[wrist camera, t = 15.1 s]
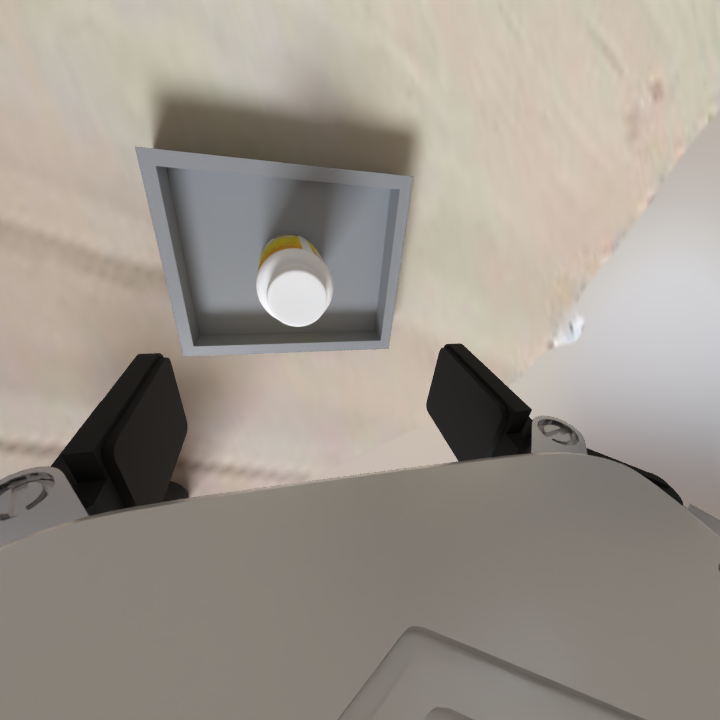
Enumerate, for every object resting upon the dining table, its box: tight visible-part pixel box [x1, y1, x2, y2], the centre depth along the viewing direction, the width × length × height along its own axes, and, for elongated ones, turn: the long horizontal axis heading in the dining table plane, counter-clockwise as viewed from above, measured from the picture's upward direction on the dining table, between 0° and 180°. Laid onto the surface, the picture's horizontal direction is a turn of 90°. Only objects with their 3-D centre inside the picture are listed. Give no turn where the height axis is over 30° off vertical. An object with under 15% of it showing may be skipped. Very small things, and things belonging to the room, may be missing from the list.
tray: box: [135, 147, 413, 356], centre depth 28 cm, size 16×20×4 cm
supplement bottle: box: [256, 234, 333, 327], centre depth 24 cm, size 6×6×10 cm
